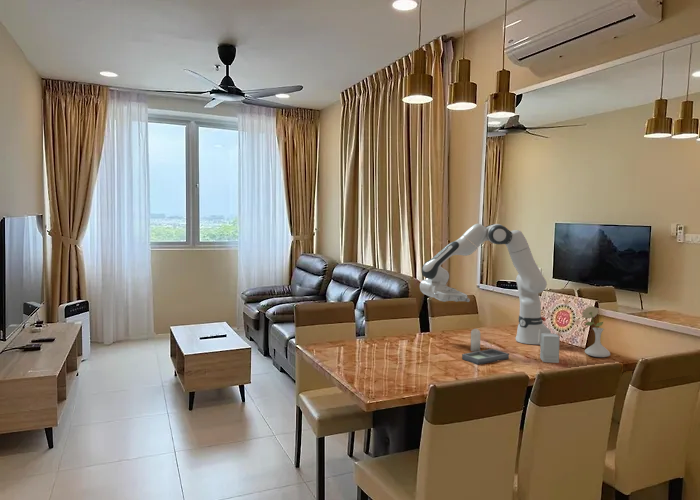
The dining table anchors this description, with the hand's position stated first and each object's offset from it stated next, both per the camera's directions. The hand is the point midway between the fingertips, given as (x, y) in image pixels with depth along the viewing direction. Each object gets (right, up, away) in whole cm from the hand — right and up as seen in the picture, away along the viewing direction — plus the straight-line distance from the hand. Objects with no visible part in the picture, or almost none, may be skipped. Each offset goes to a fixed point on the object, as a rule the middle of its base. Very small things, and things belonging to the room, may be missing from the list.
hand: (463, 300), depth 255 cm
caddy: (+6, -26, -22) cm, 35 cm away
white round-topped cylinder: (+5, -25, -6) cm, 27 cm away
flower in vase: (+62, -26, -16) cm, 69 cm away
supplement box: (+36, -27, -24) cm, 51 cm away
